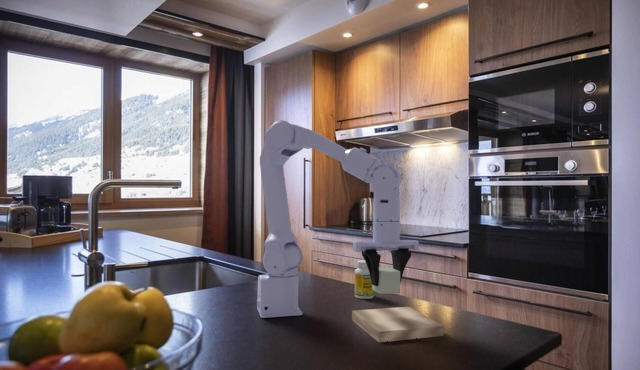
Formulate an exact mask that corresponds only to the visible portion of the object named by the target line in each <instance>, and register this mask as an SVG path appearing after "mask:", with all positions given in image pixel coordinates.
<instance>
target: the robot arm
mask: <svg viewBox="0 0 640 370" xmlns="http://www.w3.org/2000/svg"><path fill="white" fill-rule="evenodd" d="M264 139H265V140H264V143H263V147H262V150H261V153H260V157H259V168H260V174H261V175H260V176H261V183H262V191H263V198H264V205H265V206H264V207H265V213H266V220H267V222H266V223H267V228H268V229H267V230H268V235H267V237H266V240H264V244H263V245H264V253H263V256H262V265H263V267H264V269H265V271H266V272H267V273H266V274H259V275H258V276H257V299H256V306H257V307H256V309H257V311H258V314H259V316H260V318H261V319H265V318H278V317H279V318H280V317H292V316H297V317H298V316H302V315H303V311H302V310H301V309H300V308H299V269H298V268H299V266H300V265H301V263H302V262H303V251H302V249H301V248H300V246H299V244H298V239H297V236H296V235H295V234H294V232H293V230H292V225H291V217H290V216H291V215H290V210H289V208H290V207H289V202H288V193H287V187H286V179H285V171H284V165H285V164H286V162H287V161H288V160H289V159H290V158H291V157H293V156H294V155H296V154H298V153H299V152H301V151H302V150H303V149H307V150H309V149H314V150H316V151H318V152H321V153H322V154H324V155H327V157H330V158H332V159H334V160H336V161H338V162H340V164H341V166H342V167H341V168H342V169H343V171H344V172H346V173H348V174H350V175H351V176H354V177H355V178H357V179H359V180H361V181H363V182H365V183H367V184H371V186H372V188H373V199H372V240H361V241H352V252H356V253H361V256H362V258H363V260H365V262H366V264H367V267H368V270H369V273H370V277H371V282H372V285H374V286H378V284H379V268H380V263H381V258H382V255H381V254H380V253H379V251H380V252H383V251H390V254H391V259H392V268H393V269H396V270H398V271H400V285H401V284H402V278H403V274H404V273H405V269H406V266H407V264H408V262H409V261H410V259H411V257H412V251H411V250H413V251H419V250H420V247H419V246H420V245H419V244H420V243H419V242H420V241H419V240H415V239H412V240H411V239H400V238H401V237H400V235H401V234H400V232H401V226H400V225H401V223H400V222H401V200H400V195H401V194H400V193H401V192H400V188H399V187H400V186H401V184H402V180H403V179H402V173H401V172H400V170H399V169H397V168H396V167H395V166H394V165H392V164H386V160H385V159H383V158H380V159H379V158H377V157H375V156H373V155H371V154H370V153H367V149H365V148H363V147H360V148H358V147H352V148H349V149H347V148H345V147H344V146H342V145H340V144H338V143H336V142H334V141H333V140H332V139H331V140H330V139H329V138H327V137H326V136H323V135H322V134H320V133H318V132H317V131H315V130H312V129H309V128H306V127H303V126H301V125H297V124H294V123H290V122H288V120H282V119H279V120H276V121H274V122H273V123H272V124H271V125H270V126H269V127H268V128H267V130H266V131H265V132H264Z"/></svg>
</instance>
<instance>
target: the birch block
mask: <svg viewBox="0 0 640 370" xmlns="http://www.w3.org/2000/svg"><path fill="white" fill-rule="evenodd" d="M351 321H352V322H354V323H355V324H356V325H358V327H360V328H361V329H363V331H365V333H367V334H368V335H370V337H371V338H373V339H374V340H375V341H376V342H378V343H385V342H387V341H388V342H396V341H398V342H399V341H405V340H407V341H408V340H415V339H416V338H417V339H424V338H426V339H427V338H435V337H443V336H444V335H445V333H444V330H445V329H444V327H445V326H444V325H443V324H442V323H441V324H440V323H439V322H437V321H436V320H434V319H432V318H430V317H429V316H426V315H424V314H423V313H421V312H419V311H417V310H415V309H414V308H413V307H410V306H401V307H400V306H397V307H385V308H384V307H383V308H373V309H369V308H368V309H359V310H351ZM417 339H416V340H417Z"/></svg>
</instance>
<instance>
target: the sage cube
mask: <svg viewBox="0 0 640 370" xmlns="http://www.w3.org/2000/svg"><path fill="white" fill-rule="evenodd" d="M372 290H374V292H376V293H378V294H380V295H385V294H387V295H389V294H400V293H401V284H400V271H398V270H396V269H393V267H379V284H378V286H374V285H372Z"/></svg>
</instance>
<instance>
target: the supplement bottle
mask: <svg viewBox="0 0 640 370" xmlns="http://www.w3.org/2000/svg"><path fill="white" fill-rule="evenodd" d="M356 266H357V268H356V269H355V270H354V297H355V298H357V299H360V300H361V299H362V300H369V299H374V297H375V291H374V290H372V282H371V277H370V273H369V270H368V267H367V264H366V262H365V260H364V259H360V260H357V261H356Z"/></svg>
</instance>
